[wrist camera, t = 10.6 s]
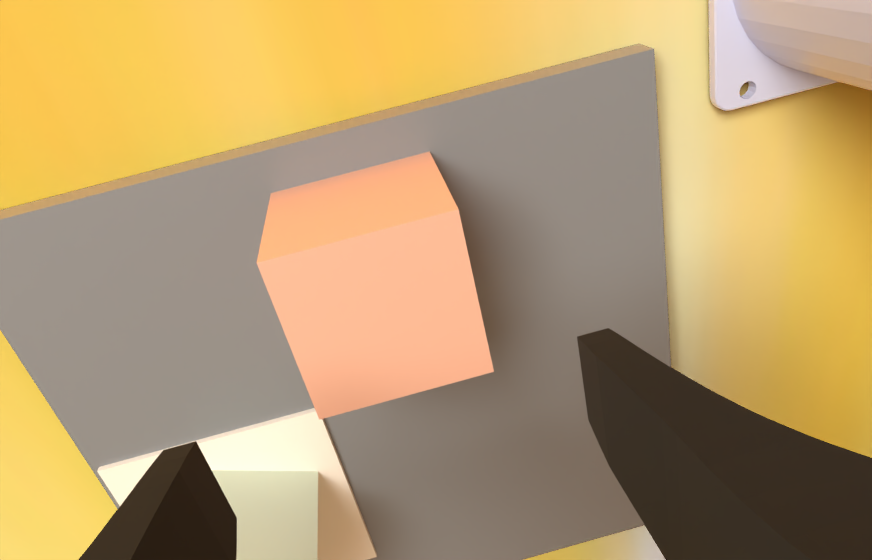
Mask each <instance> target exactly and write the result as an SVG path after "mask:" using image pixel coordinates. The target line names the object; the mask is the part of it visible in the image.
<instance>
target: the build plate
mask: <svg viewBox="0 0 872 560" xmlns="http://www.w3.org/2000/svg"><path fill="white" fill-rule="evenodd" d="M429 151H430V153H431V155H432V157H433V159H434V161H435V163H436V165H437V167H438V169H439V171H440V173H441V175H442V177H443V179H444V181H445V183H446V185H447V187H448V189H449V191H450V193H451V195H452V197H453V199H454V201H455V203H456V205H457V207H458V209H459V214H460V218H461V223H462V228H463V232H464V237H465V241H466V246H467V250H468V255H469V260H470V264H471V269H472V273H473V278H474V282H475V287H476V292H477V296H478V301H479V305H480V310H481V314H482V319H483V324H484V328H485V333H486V337H487V342H488V346H489V351H490V356H491V360H492V365H493V369H494V372H491V373H487V374H484V375H480V376H477V377H473V378H469V379H466V380H462V381H458V382H455V383H451V384H447V385H444V386H440V387H437V388H433V389H429V390H426V391H422V392H418V393H415V394H411V395H407V396H404V397H400V398H397V399H393V400H389V401H386V402H382V403H378V404H375V405H371V406H367V407H364V408H360V409H357V410H353V411H349V412H346V413H342V414H338V415H335V416H331V417H327V418H324V419H320V420H319V418H318V415H317V413H316V410H315V408H314V405H313V403H312V400H311V398H310V395H309V393H308V390H307V388H306V385H305V383H304V380H303V378H302V375H301V373H300V370H299V368H298V365H297V363H296V360H295V358H294V355H293V353H292V350H291V348H290V345H289V343H288V340H287V338H286V335H285V333H284V330H283V328H282V325H281V323H280V320H279V318H278V315H277V313H276V310H275V308H274V305H273V303H272V300H271V298H270V295H269V293H268V290H267V288H266V285H265V283H264V280H263V278H262V275H261V273H260V270H259V268H258V265H257V258H258V254H259V249H260V244H261V239H262V234H263V229H264V224H265V219H266V214H267V210H268V205H269V200H270V195H271V193H274V192H277V191H281V190H285V189H289V188H293V187H296V186H300V185H304V184H308V183H312V182H315V181H319V180H323V179H327V178H331V177H334V176H338V175H342V174H346V173H350V172H353V171H357V170H361V169H365V168H369V167H372V166H376V165H380V164H384V163H388V162H391V161H395V160H399V159H403V158H407V157H410V156H414V155H418V154H422V153H426V152H429ZM607 328H609V329H611V330H613V331H614V332H616V333H618V334H619V335H621V336H622V337H624V338H625V339H627V340H629V341H630V342H632V343H633V344H635V345H636V346H638V347H639V348H641V349H642V350H644V351H646V352H647V353H649V354H650V355H652V356H653V357H655V358H657V359H658V360H660V361H661V362H663V363H665V364H666V365H668V366H670V367H671V358H670V340H669V321H668V302H667V283H666V264H665V246H664V227H663V208H662V189H661V170H660V152H659V133H658V114H657V95H656V76H655V58H654V49H653V48H650V47H647V46H644V45H641V44H636V45H632V46H628V47H624V48H620V49H617V50H613V51H609V52H605V53H601V54H597V55H594V56H590V57H586V58H582V59H578V60H574V61H571V62H567V63H563V64H559V65H555V66H551V67H548V68H544V69H540V70H536V71H532V72H528V73H525V74H521V75H517V76H513V77H509V78H505V79H502V80H498V81H494V82H490V83H486V84H482V85H479V86H475V87H471V88H467V89H463V90H459V91H456V92H452V93H448V94H444V95H440V96H436V97H432V98H429V99H425V100H421V101H417V102H413V103H409V104H406V105H402V106H398V107H394V108H390V109H386V110H383V111H379V112H375V113H371V114H367V115H363V116H360V117H356V118H352V119H348V120H344V121H340V122H337V123H333V124H329V125H325V126H321V127H317V128H314V129H310V130H306V131H302V132H298V133H294V134H291V135H287V136H283V137H279V138H275V139H271V140H268V141H264V142H260V143H256V144H252V145H248V146H245V147H241V148H237V149H233V150H229V151H225V152H222V153H218V154H214V155H210V156H206V157H202V158H199V159H195V160H191V161H187V162H183V163H179V164H175V165H172V166H168V167H164V168H160V169H156V170H152V171H149V172H145V173H141V174H137V175H133V176H129V177H126V178H122V179H118V180H114V181H110V182H106V183H103V184H99V185H95V186H91V187H87V188H83V189H80V190H76V191H72V192H68V193H64V194H60V195H57V196H53V197H49V198H45V199H41V200H37V201H34V202H30V203H26V204H22V205H18V206H14V207H11V208H7V209H3V210H0V330H1V332H2V333H3V335H4V336H5V338H6V339H7V341H8V342H9V344H10V345H11V347H12V348H13V350H14V351H15V353H16V354H17V356H18V357H19V359H20V361H21V362H22V364H23V365H24V367H25V368H26V370H27V371H28V373H29V374H30V376H31V377H32V379H33V380H34V382H35V383H36V385H37V386H38V388H39V390H40V391H41V393H42V394H43V396H44V397H45V399H46V400H47V402H48V403H49V405H50V406H51V408H52V409H53V411H54V412H55V414H56V416H57V417H58V419H59V420H60V422H61V423H62V425H63V426H64V428H65V429H66V431H67V432H68V434H69V435H70V437H71V438H72V440H73V441H74V443H75V445H76V446H77V448H78V449H79V451H80V452H81V454H82V455H83V457H84V458H85V460H86V461H87V463H88V464H89V466H90V467H91V469H92V470H93V472H94V474H95V475H96V477H97V478H98V480H99V481H100V483H101V484H102V486H103V487H104V489H105V490H106V492H107V493H108V495H109V496H110V498H111V499H112V501H113V503H114V504H115V506H116V507H117V509H118V508H119V507H120V506H121V504H122V503H123V502H124V500H125V499H126V498H127V496H128V495H129V494H130V492H131V491H132V490H133V488H134V487H135V486H136V484H137V483H138V482H139V480H140V479H141V478H142V476H143V475H144V474H145V472H146V471H147V470H148V469H149V467H150V466H151V465H152V463H153V462H154V461H155V460H156V458H157V457H158V456H159V455H160V454H161V452H162V451H163V450H166V449H169V448H173V447H176V446H180V445H184V444H187V443H191V442H195V441H196V442H197V444H198V446H199V448H200V450H201V451H202V453H203V455H204V457H205V459H206V461H207V463H208V465H209V466H210V468H211V470H236V471H318V545H317V560H523V559H527V558H530V557H534V556H537V555H541V554H544V553H548V552H551V551H555V550H558V549H562V548H565V547H569V546H572V545H576V544H579V543H583V542H586V541H590V540H593V539H597V538H600V537H604V536H607V535H611V534H614V533H618V532H621V531H625V530H628V529H632V528H635V527H639V526H643V525H644V523H643V521H642V520H641V518H640V516H639V515H638V513H637V512H636V510H635V508H634V507H633V505H632V503H631V502H630V500H629V498H628V497H627V495H626V493H625V492H624V490H623V489H622V487H621V485H620V484H619V482H618V480H617V479H616V477H615V475H614V474H613V472H612V470H611V468H610V467H609V465H608V463H607V460H606V458H605V456H604V454H603V452H602V450H601V447H600V445H599V443H598V441H597V439H596V436H595V434H594V432H593V430H592V427H591V425H590V423H589V420H588V414H587V407H586V400H585V392H584V385H583V378H582V370H581V363H580V356H579V348H578V341H577V336H581V335H585V334H588V333H592V332H596V331H599V330H603V329H607Z"/></svg>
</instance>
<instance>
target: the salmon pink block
mask: <svg viewBox="0 0 872 560" xmlns="http://www.w3.org/2000/svg"><path fill="white" fill-rule="evenodd" d="M257 265H258V268H259V270H260V273H261V275H262V278H263V280H264V283H265V285H266V288H267V290H268V293H269V295H270V298H271V300H272V303H273V305H274V308H275V310H276V313H277V315H278V318H279V320H280V323H281V325H282V328H283V330H284V333H285V335H286V338H287V340H288V343H289V345H290V348H291V350H292V353H293V355H294V358H295V360H296V363H297V365H298V368H299V370H300V373H301V375H302V378H303V380H304V383H305V385H306V388H307V390H308V393H309V395H310V398H311V400H312V403H313V405H314V408H315V410H316V413H317V415H318V418H319V420H320V419H324V418H327V417H331V416H335V415H338V414H342V413H346V412H349V411H353V410H357V409H360V408H364V407H367V406H371V405H375V404H378V403H382V402H386V401H389V400H393V399H397V398H400V397H404V396H407V395H411V394H415V393H418V392H422V391H426V390H429V389H433V388H437V387H440V386H444V385H447V384H451V383H455V382H458V381H462V380H466V379H469V378H473V377H477V376H480V375H484V374H487V373H491V372H494V369H493V365H492V360H491V356H490V351H489V346H488V342H487V337H486V333H485V328H484V324H483V319H482V314H481V310H480V305H479V301H478V296H477V292H476V287H475V282H474V278H473V273H472V269H471V264H470V260H469V255H468V250H467V246H466V241H465V237H464V232H463V228H462V223H461V218H460V214H459V209H458V207H457V205H456V203H455V201H454V199H453V197H452V195H451V193H450V191H449V189H448V187H447V185H446V183H445V181H444V179H443V177H442V175H441V173H440V171H439V169H438V167H437V165H436V163H435V161H434V159H433V157H432V155H431V153H430V151H429V152H426V153H422V154H418V155H414V156H410V157H407V158H403V159H399V160H395V161H391V162H388V163H384V164H380V165H376V166H372V167H369V168H365V169H361V170H357V171H353V172H350V173H346V174H342V175H338V176H334V177H331V178H327V179H323V180H319V181H315V182H312V183H308V184H304V185H300V186H296V187H293V188H289V189H285V190H281V191H277V192H274V193H271V195H270V200H269V205H268V210H267V214H266V219H265V224H264V229H263V234H262V239H261V244H260V249H259V254H258V258H257Z"/></svg>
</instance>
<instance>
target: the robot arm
mask: <svg viewBox="0 0 872 560" xmlns="http://www.w3.org/2000/svg"><path fill="white" fill-rule="evenodd" d="M709 71H710V99H711V103H712V104H713V105H714V106H715V107H717V108H719V109H722V110H724V111H730V110H735V109H738V108H742V107H746V106H750V105H753V104H757V103H761V102H765V101H768V100H772V99H776V98H780V97H784V96H787V95H791V94H795V93H799V92H802V91H806V90H810V89H814V88H817V87H821V86H825V85H829V84H833V83H836V82H842V83H845V84H849V85H853V86H856V87H860V88H863V89H867V90H871V91H872V0H709ZM747 81H748V84H749V87H748V90H747V92H746V93H745V94H744V95H742V96H740V93H739V92H740V88H741V86H742V85H743V84H744V83H746V82H747ZM577 341H578V348H579V356H580V363H581V370H582V378H583V385H584V392H585V400H586V407H587V414H588V420H589V423H590V425H591V427H592V430H593V432H594V434H595V436H596V439H597V441H598V443H599V445H600V447H601V450H602V452H603V454H604V456H605V458H606V460H607V463H608V465H609V467H610V468H611V470H612V472H613V474H614V475H615V477H616V479H617V480H618V482H619V484H620V485H621V487H622V489H623V490H624V492H625V493H626V495H627V497H628V498H629V500H630V502H631V503H632V505H633V507H634V508H635V510H636V512H637V513H638V515H639V516H640V518H641V520H642V521H643V523H644V525H645V526H646V528H647V530H648V531H649V533H650V534H651V536H652V538H653V539H654V541H655V543H656V544H657V546H658V547H659V549H660V551H661V552H662V554H663V556H664V557H665V559H666V560H872V458H870V457H867V456H864V455H861V454H858V453H855V452H852V451H850V450H847V449H844V448H841V447H838V446H835V445H832V444H829V443H827V442H824V441H821V440H819V439H816V438H813V437H811V436H808V435H806V434H803V433H801V432H798V431H796V430H794V429H791V428H789V427H786V426H784V425H782V424H779V423H777V422H775V421H772V420H770V419H767V418H765V417H763V416H761V415H759V414H757V413H754V412H752V411H750V410H748V409H746V408H744V407H742V406H740V405H738V404H736V403H734V402H732V401H730V400H728V399H726V398H724V397H722V396H720V395H718V394H716V393H715V392H713V391H711V390H709V389H707V388H705V387H704V386H702V385H700V384H698V383H697V382H695V381H693V380H692V379H690V378H688V377H686V376H685V375H683V374H681V373H680V372H678V371H676V370H674V369H673V368H671V367H670V366H668V365H666V364H665V363H663V362H661V361H660V360H658V359H657V358H655V357H653V356H652V355H650V354H649V353H647V352H646V351H644V350H642V349H641V348H639V347H638V346H636V345H635V344H633V343H632V342H630V341H629V340H627V339H625V338H624V337H622V336H621V335H619V334H618V333H616V332H614V331H613V330H611V329H609V328H607V329H603V330H599V331H596V332H592V333H588V334H585V335H581V336H577ZM236 555H237V517H236V515H235V513H234V512H233V510H232V508H231V506H230V504H229V502H228V500H227V498H226V497H225V495H224V493H223V491H222V489H221V487H220V485H219V483H218V481H217V480H216V478H215V476H214V474H213V472H212V470H211V468H210V466H209V465H208V463H207V461H206V459H205V457H204V455H203V453H202V451H201V450H200V448H199V446H198V444H197V442H196V441H195V442H191V443H187V444H184V445H180V446H176V447H173V448H169V449H166V450H163V451H162V452H161V454H160V455H159V456H158V457H157V458H156V460H155V461H154V462H153V463H152V465H151V466H150V467H149V469H148V470H147V471H146V472H145V474H144V475H143V476H142V478H141V479H140V480H139V482H138V483H137V484H136V486H135V487H134V488H133V490H132V491H131V492H130V494H129V495H128V496H127V498H126V499H125V500H124V502H123V503H122V504H121V506H120V507H119V508H118V510H117V511H116V512H115V514H114V515H113V516H112V518H111V519H110V520H109V522H108V523H107V524H106V525H105V527H104V528H103V529H102V531H101V532H100V533H99V535H98V536H97V537H96V539H95V540H94V541H93V542H92V544H91V545H90V546H89V548H88V549H87V550H86V551H85V552H84V554H83V555H82V556H81V557H80V558H79V560H236Z"/></svg>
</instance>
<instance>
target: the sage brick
mask: <svg viewBox="0 0 872 560" xmlns="http://www.w3.org/2000/svg"><path fill="white" fill-rule="evenodd" d="M212 472H213V474H214V476H215V478H216V480H217V481H218V483H219V485H220V487H221V489H222V491H223V493H224V495H225V497H226V498H227V500H228V502H229V504H230V506H231V508H232V510H233V512H234V513H235V515H236V517H237V555H236V560H317V545H318V471H236V470H212Z"/></svg>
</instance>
